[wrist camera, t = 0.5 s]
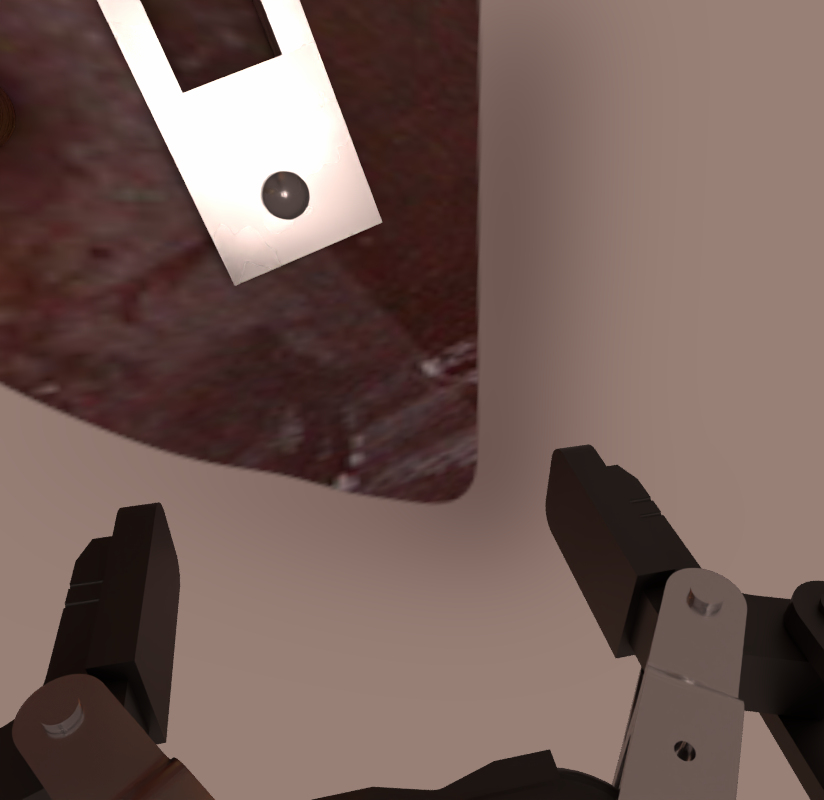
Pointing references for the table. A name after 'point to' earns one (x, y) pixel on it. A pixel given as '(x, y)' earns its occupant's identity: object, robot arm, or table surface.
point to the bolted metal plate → (256, 142)
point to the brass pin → (6, 117)
